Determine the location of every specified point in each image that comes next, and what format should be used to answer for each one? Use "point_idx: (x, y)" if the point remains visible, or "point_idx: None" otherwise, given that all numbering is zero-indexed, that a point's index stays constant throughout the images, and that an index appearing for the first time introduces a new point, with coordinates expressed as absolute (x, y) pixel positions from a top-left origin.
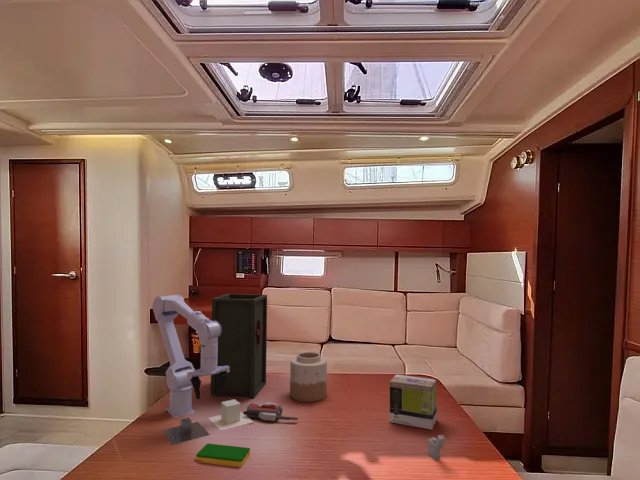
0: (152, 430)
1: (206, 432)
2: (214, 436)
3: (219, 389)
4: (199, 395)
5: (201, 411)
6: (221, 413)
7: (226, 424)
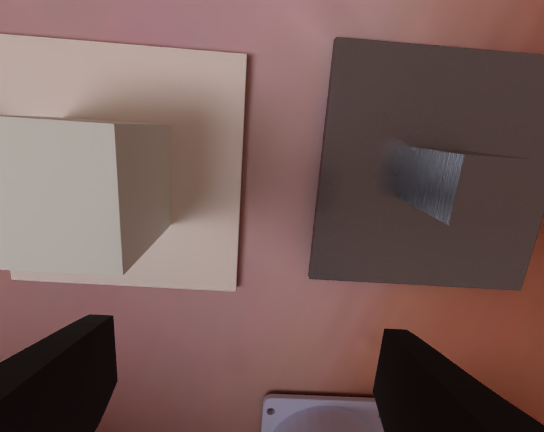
0: (537, 330)
1: (337, 90)
2: (309, 18)
3: (68, 368)
4: (413, 351)
5: (222, 403)
6: (158, 232)
7: (171, 123)
